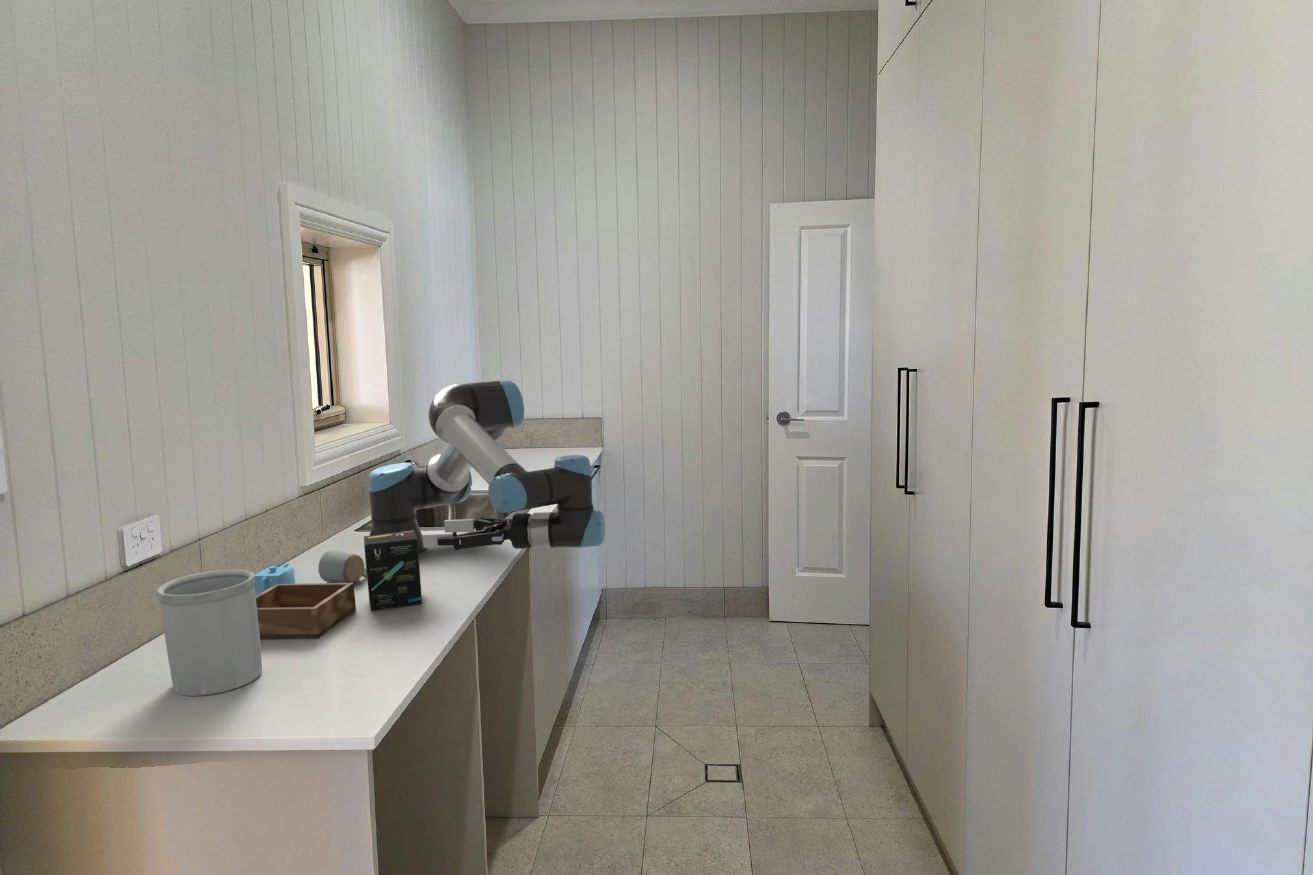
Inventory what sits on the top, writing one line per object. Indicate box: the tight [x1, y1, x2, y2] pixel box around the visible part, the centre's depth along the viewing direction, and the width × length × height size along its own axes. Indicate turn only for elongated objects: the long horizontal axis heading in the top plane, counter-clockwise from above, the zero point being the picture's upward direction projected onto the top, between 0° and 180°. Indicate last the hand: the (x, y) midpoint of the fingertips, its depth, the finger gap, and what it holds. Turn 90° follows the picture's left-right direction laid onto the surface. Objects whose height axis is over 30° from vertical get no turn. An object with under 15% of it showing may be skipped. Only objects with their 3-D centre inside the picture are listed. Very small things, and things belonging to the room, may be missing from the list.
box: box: [255, 582, 357, 640], centre depth 174 cm, size 17×17×6 cm
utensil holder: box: [156, 568, 263, 697], centre depth 145 cm, size 15×15×18 cm
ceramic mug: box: [318, 549, 367, 584], centre depth 204 cm, size 11×8×8 cm
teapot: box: [254, 562, 296, 596], centre depth 192 cm, size 12×6×8 cm, turn 176°
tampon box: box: [363, 530, 423, 612], centre depth 186 cm, size 11×9×15 cm
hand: (434, 533), depth 183 cm, fingers open, 13 cm apart
